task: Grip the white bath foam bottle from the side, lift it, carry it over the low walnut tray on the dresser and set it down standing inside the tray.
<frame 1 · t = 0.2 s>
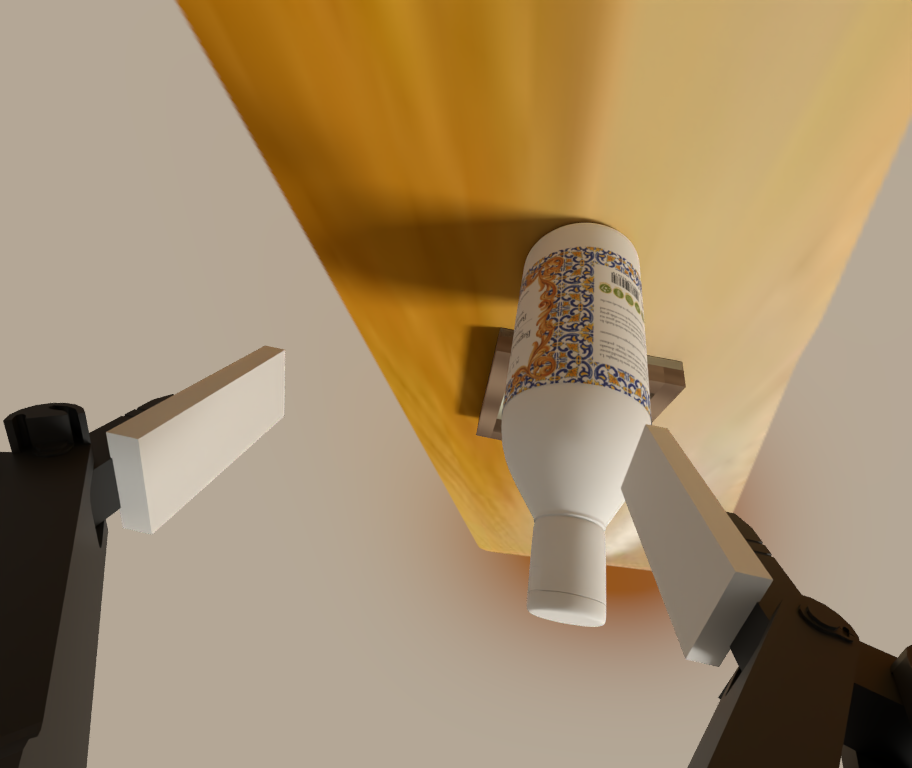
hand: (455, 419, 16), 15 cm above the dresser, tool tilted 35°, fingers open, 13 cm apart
tray: (564, 393, 39), on the dresser
bath foam: (579, 264, 27), on the dresser
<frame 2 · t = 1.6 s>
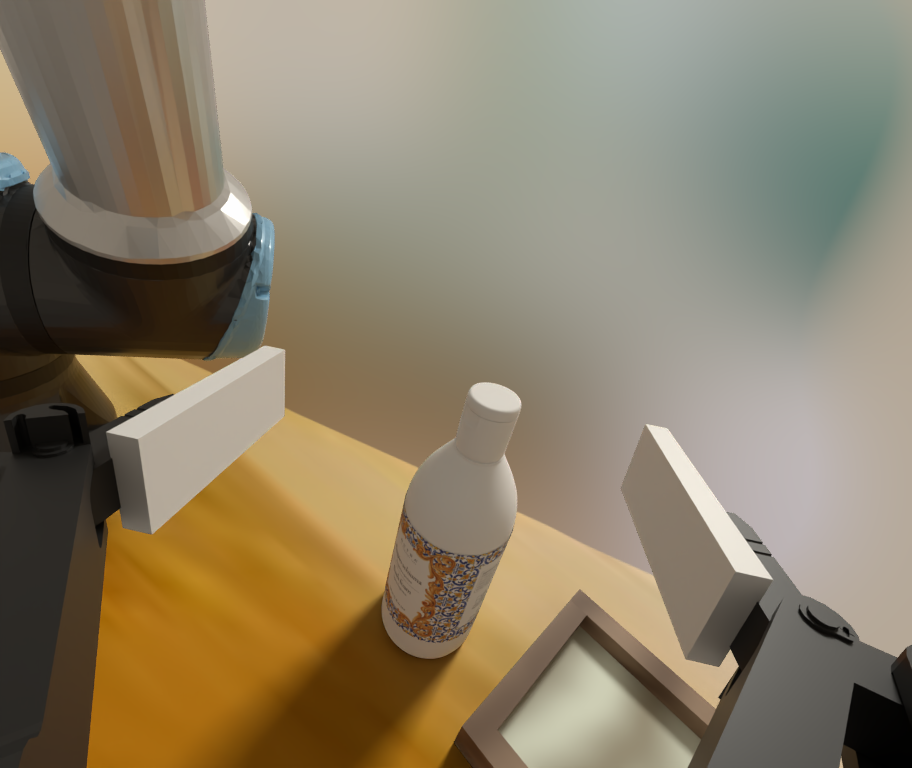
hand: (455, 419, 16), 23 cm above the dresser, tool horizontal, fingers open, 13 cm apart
tray: (605, 755, 27), on the dresser
bath foam: (425, 615, 33), on the dresser
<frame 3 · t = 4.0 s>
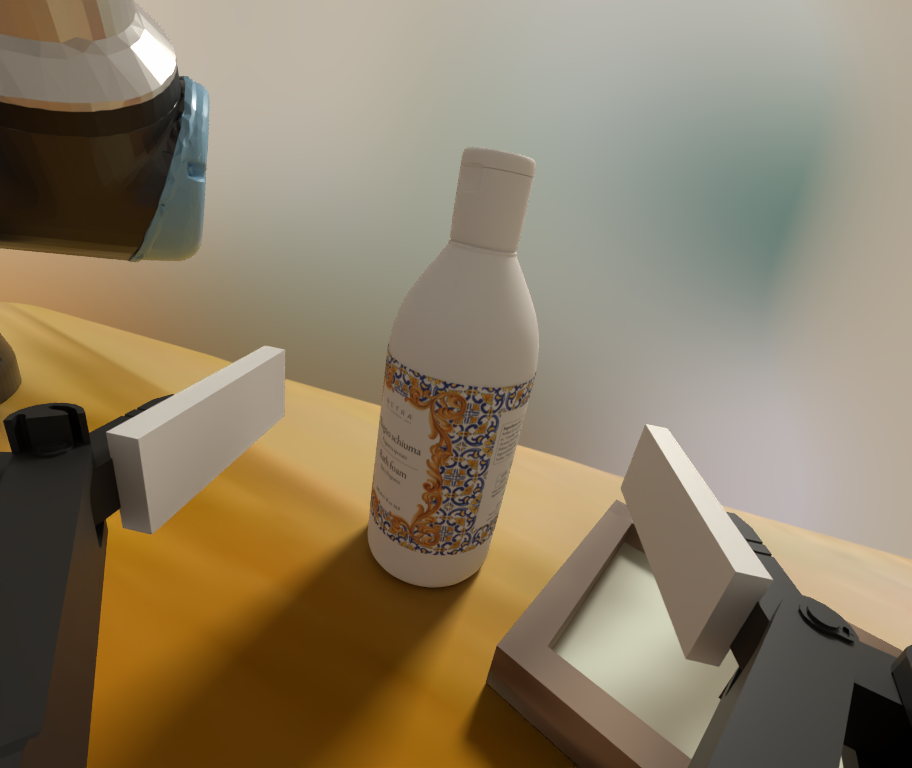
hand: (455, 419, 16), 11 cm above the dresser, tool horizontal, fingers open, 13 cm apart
tray: (696, 681, 20), on the dresser
bath foam: (427, 544, 25), on the dresser
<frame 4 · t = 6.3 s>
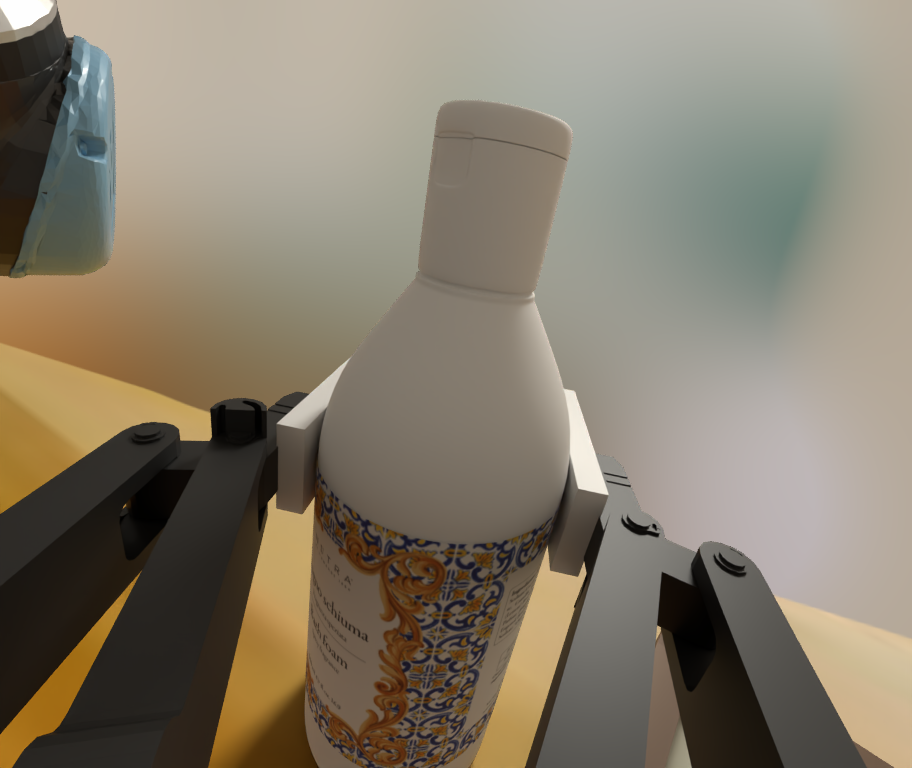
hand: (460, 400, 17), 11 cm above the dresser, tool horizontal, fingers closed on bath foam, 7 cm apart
bath foam: (396, 705, 17), on the dresser, touching gripper
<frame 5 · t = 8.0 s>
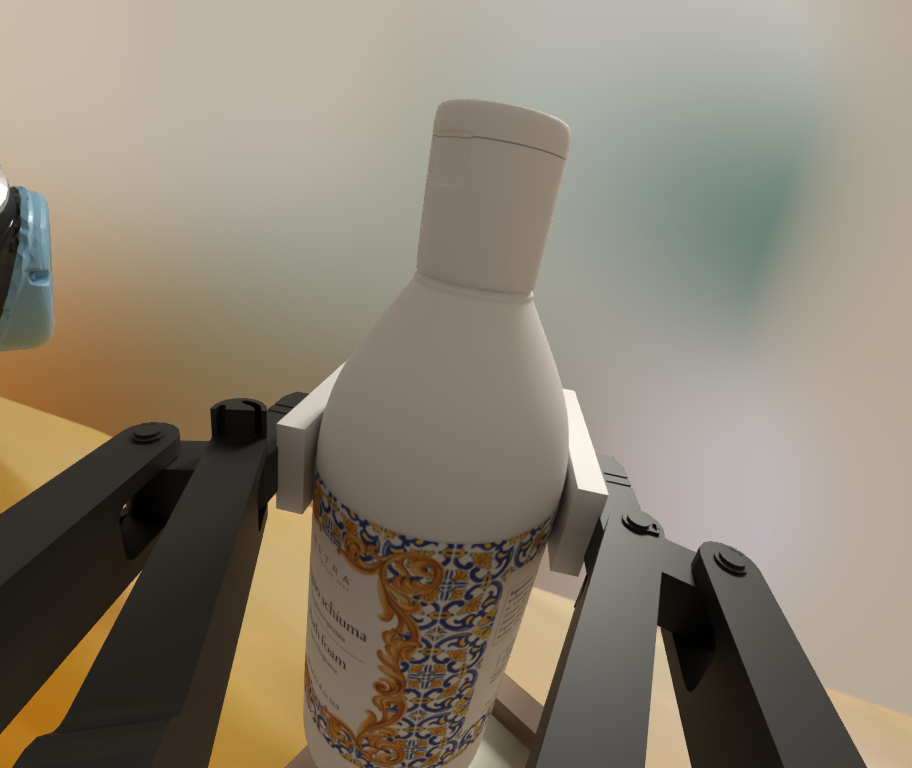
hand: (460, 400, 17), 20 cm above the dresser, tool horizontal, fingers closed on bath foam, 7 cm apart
bath foam: (395, 705, 17), point 9 cm above the dresser, touching gripper
when the fingers open (13 cm above the dresser, at t = 9.7 s): bath foam drops 1 cm, resting on tray.
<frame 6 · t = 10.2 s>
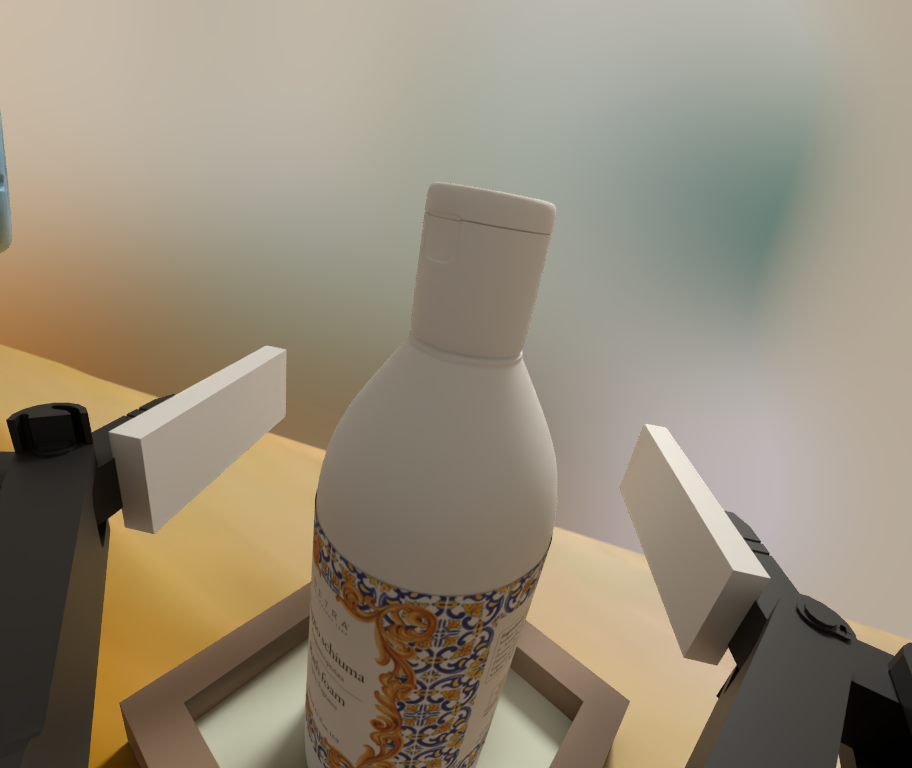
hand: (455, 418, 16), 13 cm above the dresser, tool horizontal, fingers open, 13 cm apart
tray: (391, 736, 18), on the dresser
bath foam: (394, 729, 17), point 1 cm above the dresser, touching tray
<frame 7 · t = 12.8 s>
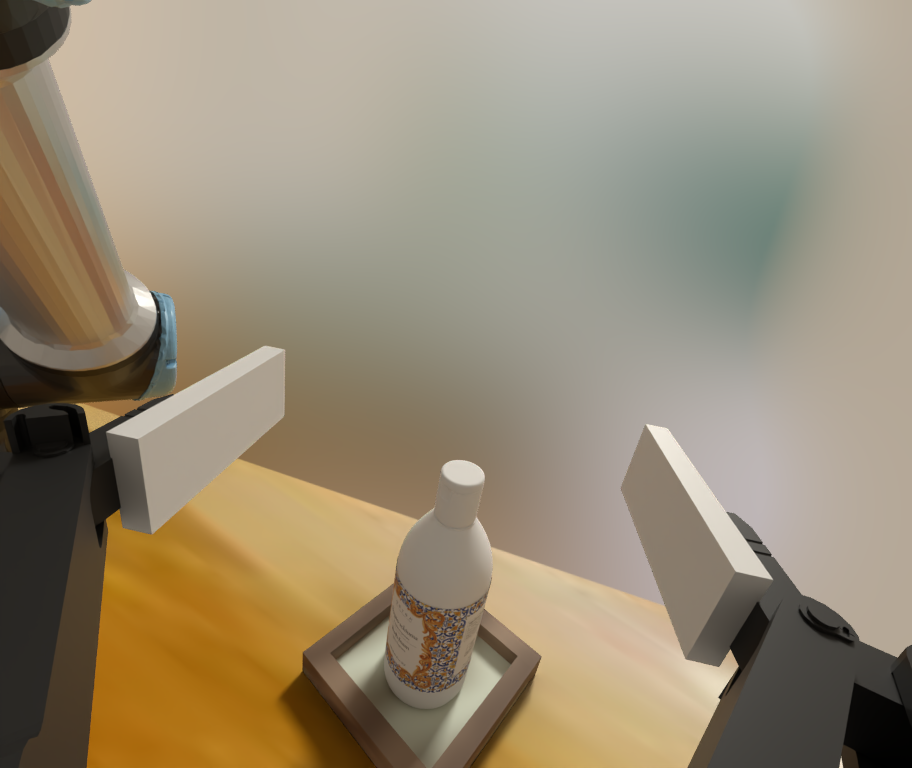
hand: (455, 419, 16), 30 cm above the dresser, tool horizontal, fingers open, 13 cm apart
tray: (423, 672, 36), on the dresser
bath foam: (424, 668, 36), point 1 cm above the dresser, touching tray
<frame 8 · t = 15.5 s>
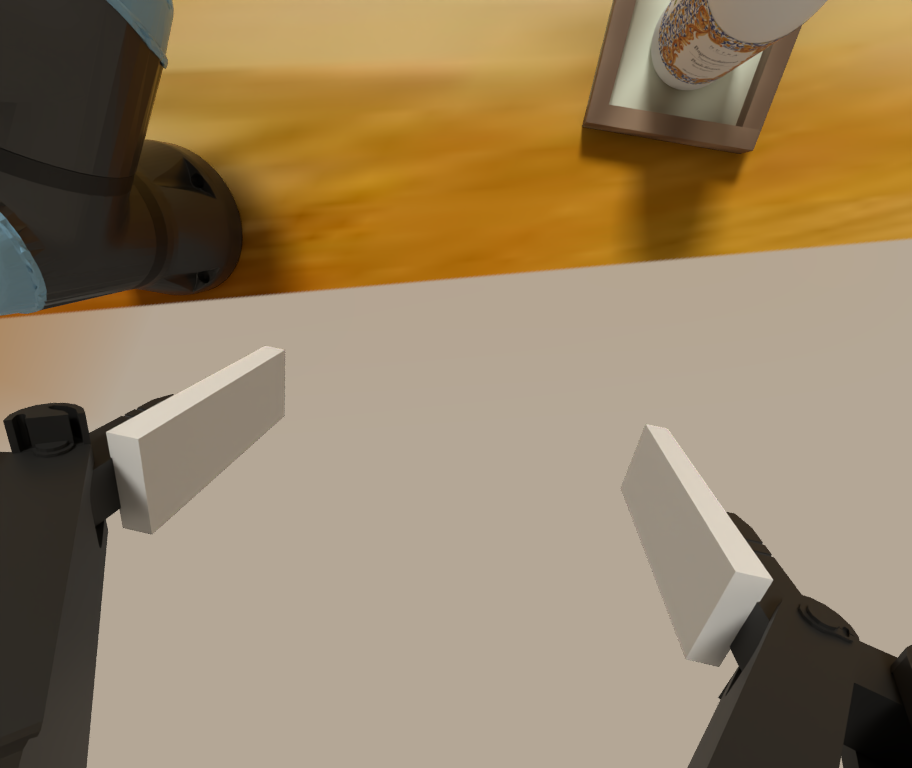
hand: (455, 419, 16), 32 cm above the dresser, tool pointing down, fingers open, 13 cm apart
tray: (689, 44, 35), on the dresser
bath foam: (693, 42, 35), point 1 cm above the dresser, touching tray
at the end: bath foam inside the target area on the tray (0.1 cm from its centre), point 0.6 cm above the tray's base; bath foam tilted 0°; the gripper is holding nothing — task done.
